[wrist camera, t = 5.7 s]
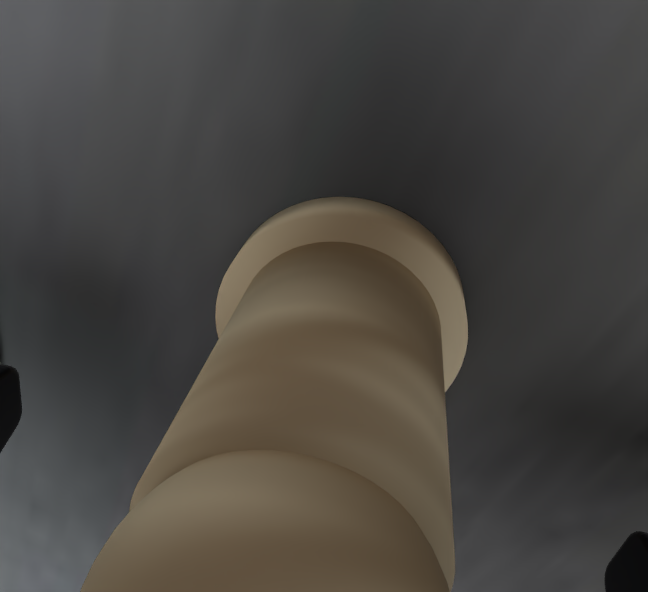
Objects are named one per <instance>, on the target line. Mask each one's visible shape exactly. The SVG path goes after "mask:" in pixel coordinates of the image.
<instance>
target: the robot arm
mask: <svg viewBox="0 0 648 592" xmlns="http://www.w3.org/2000/svg"><path fill="white" fill-rule="evenodd" d="M21 414H22V403H21V392H20V382H19V374H18V372H17V370H16V369H15V368H13V367H11V366H8V365H4V364H0V453H1V451H2V449H3V448H4V446H5V445H6V443H7V441H8V440H9V438H10V437H11V435H12V433H13V432H14V430H15V429H16V427H17V425H18V423H19V421H20V418H21ZM605 591H606V592H648V533H645V532H641V531H636V532H634V533H632V534H631V535H630V536H629V537H628V538H627V539H626V541H625V542H624V544H623V545H622V546H621V548H620V549H619V550H618V552H617V553H616V554H615V556H614V557H613V558H612V560H611V561H610V562H609V564H608V566H607V569H606V572H605Z"/></svg>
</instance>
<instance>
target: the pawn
mask: <svg viewBox="0 0 648 592" xmlns="http://www.w3.org/2000/svg"><path fill="white" fill-rule="evenodd" d="M215 319H216V329H217V334H218V338H219V339H218V341H217V343H216V345H215V347H214V348H213V350H212V352H211V354H210V356H209V357H208V359H207V361H206V363H205V364H204V366H203V368H202V370H201V372H200V373H199V375H198V377H197V379H196V381H195V382H194V384H193V386H192V388H191V389H190V391H189V393H188V395H187V397H186V398H185V400H184V402H183V404H182V406H181V407H180V409H179V411H178V413H177V414H176V416H175V418H174V420H173V422H172V423H171V425H170V427H169V429H168V431H167V432H166V434H165V436H164V438H163V439H162V441H161V443H160V445H159V447H158V448H157V450H156V452H155V454H154V456H153V457H152V459H151V461H150V463H149V464H148V466H147V468H146V470H145V472H144V473H143V475H142V477H141V479H140V481H139V482H138V484H137V486H136V488H135V490H134V493H133V496H132V499H131V503H130V510H129V513H128V515H127V516H126V517H125V518H124V519H123V520H122V521H121V523H120V524H119V525H118V526H117V527H116V528H115V530H114V531H113V533H112V534H111V536H110V537H109V539H108V540H107V542H106V544H105V545H104V547H103V548H102V550H101V551H100V553H99V555H98V556H97V558H96V559H95V561H94V563H93V565H92V567H91V569H90V571H89V573H88V575H87V577H86V579H85V581H84V584H83V586H82V588H81V591H80V592H451V589H452V587H453V582H454V576H455V551H454V535H453V518H452V502H451V485H450V469H449V453H448V436H447V420H446V403H445V392H446V391H447V390H448V388H449V387H450V385H451V384H452V382H453V381H454V380H455V378H456V376H457V374H458V372H459V370H460V368H461V366H462V363H463V360H464V357H465V354H466V348H467V341H468V321H467V314H466V307H465V300H464V294H463V288H462V283H461V280H460V277H459V274H458V271H457V269H456V267H455V265H454V263H453V261H452V259H451V257H450V255H449V254H448V252H447V251H446V249H445V248H444V247H443V245H442V244H441V243H440V242H439V240H438V239H437V238H436V237H435V236H434V235H433V234H432V233H431V232H430V231H429V230H428V229H426V228H425V227H424V226H423V225H421V224H420V223H419V222H418V221H416V220H415V219H413V218H411V217H410V216H408V215H407V214H405V213H403V212H401V211H399V210H397V209H394V208H392V207H390V206H388V205H385V204H381V203H378V202H375V201H372V200H366V199H361V198H355V197H326V198H318V199H313V200H308V201H304V202H301V203H299V204H296V205H293V206H290V207H288V208H286V209H284V210H282V211H280V212H278V213H276V214H275V215H274V216H272V217H271V218H269V219H268V220H266V221H265V222H264V223H263V224H262V225H261V226H259V227H258V228H257V229H256V230H255V231H254V232H253V233H252V235H251V236H250V237H249V238H248V240H247V241H246V242H245V244H244V245H243V247H242V248H241V250H240V251H239V253H238V254H237V256H236V257H235V259H234V260H233V262H232V263H231V265H230V267H229V268H228V270H227V272H226V274H225V275H224V277H223V280H222V283H221V285H220V288H219V291H218V296H217V301H216V314H215Z"/></svg>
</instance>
